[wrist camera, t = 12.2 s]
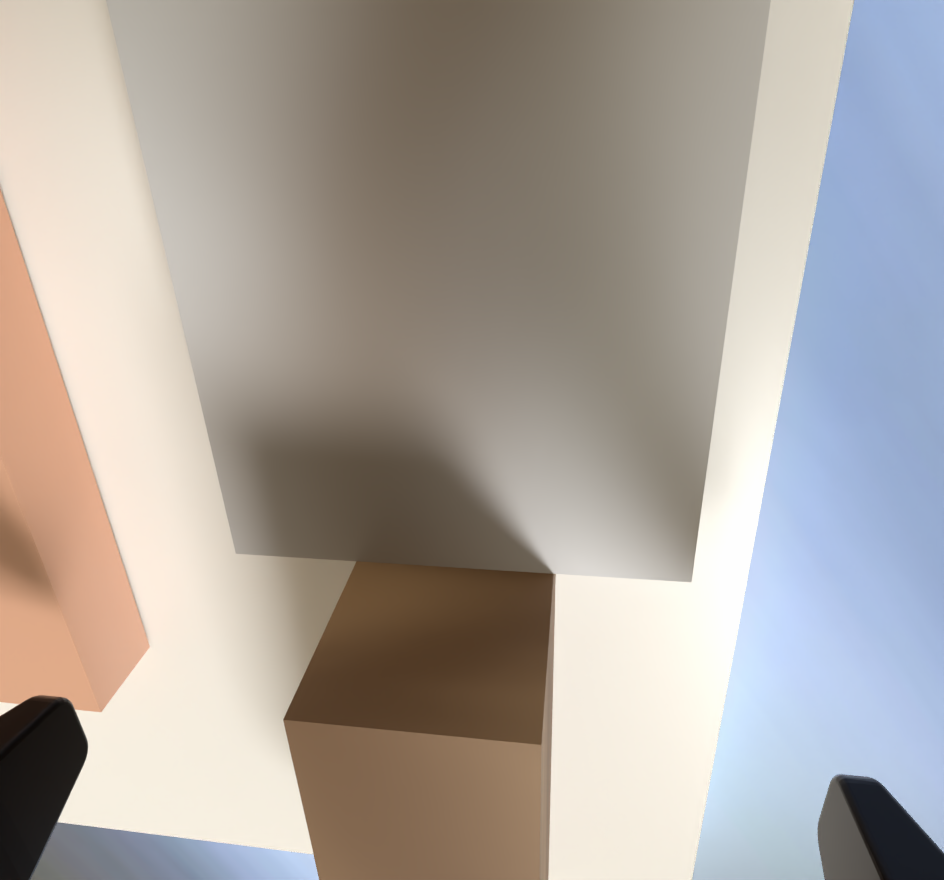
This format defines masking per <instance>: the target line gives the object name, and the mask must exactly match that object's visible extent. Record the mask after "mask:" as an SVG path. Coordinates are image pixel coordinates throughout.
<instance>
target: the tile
mask: <svg viewBox="0 0 944 880" xmlns="http://www.w3.org/2000/svg"><path fill="white" fill-rule="evenodd" d="M149 648H150V646H149V643H148V639H147V636H146V633H145V630H144V627H143V624H142V621H141V618H140V615H139V612H138V609H137V606H136V603H135V600H134V597H133V594H132V590H131V587H130V584H129V581H128V578H127V575H126V572H125V569H124V566H123V563H122V560H121V557H120V554H119V551H118V548H117V545H116V541H115V538H114V535H113V532H112V529H111V526H110V523H109V520H108V517H107V514H106V511H105V508H104V505H103V502H102V499H101V496H100V492H99V489H98V486H97V483H96V480H95V477H94V474H93V471H92V468H91V465H90V462H89V459H88V456H87V453H86V450H85V447H84V443H83V440H82V437H81V434H80V431H79V428H78V425H77V422H76V419H75V416H74V413H73V410H72V407H71V404H70V401H69V398H68V394H67V391H66V388H65V385H64V382H63V379H62V376H61V373H60V370H59V367H58V364H57V361H56V358H55V355H54V352H53V349H52V345H51V342H50V339H49V336H48V333H47V330H46V327H45V324H44V321H43V318H42V315H41V312H40V309H39V306H38V303H37V300H36V296H35V293H34V290H33V287H32V284H31V281H30V278H29V275H28V272H27V269H26V266H25V263H24V260H23V257H22V254H21V251H20V247H19V244H18V241H17V238H16V235H15V232H14V229H13V226H12V223H11V220H10V217H9V214H8V211H7V208H6V205H5V202H4V198H3V195H2V192H1V189H0V702H4V703H14V704H20V703H22V702H24V701H25V700H27V699H29V698H31V697H34V696H38V695H46V696H56V697H64V698H67V699H68V700H70V701H71V702H72V704H73V706H74V708H75V710H83V711H93V712H102V711H103V709H104V708H105V707H106V705H107V704H108V703H109V701H110V700H111V699H112V697H113V696H114V694H115V693H116V692H117V690H118V689H119V688H120V686H121V685H122V684H123V682H124V681H125V680H126V678H127V677H128V676H129V674H130V673H131V672H132V670H133V669H134V668H135V666H136V665H137V664H138V662H139V661H140V660H141V658H142V657H143V656H144V654H145V653H146V652H147V650H148V649H149Z"/></svg>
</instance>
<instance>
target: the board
mask: <svg viewBox="0 0 944 880" xmlns="http://www.w3.org/2000/svg"><path fill="white" fill-rule="evenodd" d="M853 4H854V0H771V3H770V10H769V17H768V25H767V32H766V39H765V47H764V54H763V61H762V69H761V76H760V83H759V91H758V98H757V105H756V113H755V120H754V127H753V135H752V142H751V149H750V157H749V164H748V171H747V179H746V186H745V193H744V201H743V208H742V215H741V223H740V230H739V238H738V245H737V252H736V260H735V267H734V274H733V282H732V289H731V296H730V304H729V311H728V318H727V326H726V333H725V340H724V348H723V355H722V362H721V370H720V377H719V384H718V392H717V399H716V406H715V414H714V421H713V428H712V436H711V443H710V450H709V458H708V465H707V472H706V480H705V487H704V494H703V502H702V509H701V516H700V524H699V531H698V538H697V546H696V553H695V560H694V568H693V575H692V582H677V581H661V580H645V579H629V578H614V577H598V576H582V575H566V574H556V584H555V626H554V668H553V710H552V752H551V793H550V835H549V875H548V880H692V876H693V871H694V865H695V860H696V854H697V849H698V844H699V838H700V833H701V827H702V822H703V816H704V811H705V806H706V800H707V795H708V789H709V784H710V778H711V773H712V768H713V762H714V757H715V751H716V746H717V741H718V735H719V730H720V724H721V719H722V713H723V708H724V703H725V697H726V692H727V686H728V681H729V676H730V670H731V665H732V659H733V654H734V648H735V643H736V638H737V632H738V627H739V621H740V616H741V610H742V605H743V600H744V594H745V589H746V583H747V578H748V573H749V567H750V562H751V556H752V551H753V545H754V540H755V535H756V529H757V524H758V518H759V513H760V508H761V502H762V497H763V491H764V486H765V480H766V475H767V470H768V464H769V459H770V453H771V448H772V443H773V437H774V432H775V426H776V421H777V415H778V410H779V405H780V399H781V394H782V388H783V383H784V377H785V372H786V367H787V361H788V356H789V350H790V345H791V340H792V334H793V329H794V323H795V318H796V312H797V307H798V302H799V296H800V291H801V285H802V280H803V275H804V269H805V264H806V258H807V253H808V247H809V242H810V237H811V231H812V226H813V220H814V215H815V209H816V204H817V199H818V193H819V188H820V182H821V177H822V172H823V166H824V161H825V155H826V150H827V144H828V139H829V134H830V128H831V123H832V117H833V112H834V107H835V101H836V96H837V90H838V85H839V79H840V74H841V69H842V63H843V58H844V52H845V47H846V41H847V36H848V31H849V25H850V20H851V14H852V9H853ZM0 189H1V192H2V195H3V198H4V202H5V205H6V208H7V211H8V214H9V217H10V220H11V223H12V226H13V229H14V232H15V235H16V238H17V241H18V244H19V247H20V251H21V254H22V257H23V260H24V263H25V266H26V269H27V272H28V275H29V278H30V281H31V284H32V287H33V290H34V293H35V296H36V300H37V303H38V306H39V309H40V312H41V315H42V318H43V321H44V324H45V327H46V330H47V333H48V336H49V339H50V342H51V345H52V349H53V352H54V355H55V358H56V361H57V364H58V367H59V370H60V373H61V376H62V379H63V382H64V385H65V388H66V391H67V394H68V398H69V401H70V404H71V407H72V410H73V413H74V416H75V419H76V422H77V425H78V428H79V431H80V434H81V437H82V440H83V443H84V447H85V450H86V453H87V456H88V459H89V462H90V465H91V468H92V471H93V474H94V477H95V480H96V483H97V486H98V489H99V492H100V496H101V499H102V502H103V505H104V508H105V511H106V514H107V517H108V520H109V523H110V526H111V529H112V532H113V535H114V538H115V541H116V545H117V548H118V551H119V554H120V557H121V560H122V563H123V566H124V569H125V572H126V575H127V578H128V581H129V584H130V587H131V590H132V594H133V597H134V600H135V603H136V606H137V609H138V612H139V615H140V618H141V621H142V624H143V627H144V630H145V633H146V636H147V639H148V643H149V646H150V648H149V649H148V650H147V652H146V653H145V654H144V656H143V657H142V658H141V660H140V661H139V662H138V664H137V665H136V666H135V668H134V669H133V670H132V672H131V673H130V674H129V676H128V677H127V678H126V680H125V681H124V682H123V684H122V685H121V686H120V688H119V689H118V690H117V692H116V693H115V694H114V696H113V697H112V699H111V700H110V701H109V703H108V704H107V705H106V707H105V708H104V709H103V711H102V712H93V711H83V710H75V711H76V713H77V716H78V718H79V720H80V723H81V725H82V728H83V730H84V733H85V735H86V737H87V740H88V754H87V757H86V761H85V763H84V766H83V768H82V770H81V772H80V774H79V776H78V779H77V781H76V783H75V785H74V787H73V789H72V791H71V794H70V796H69V798H68V800H67V802H66V804H65V807H64V809H63V811H62V813H61V815H60V817H59V819H58V822H62V823H70V824H78V825H85V826H93V827H101V828H109V829H117V830H125V831H133V832H141V833H149V834H157V835H165V836H172V837H180V838H188V839H196V840H204V841H212V842H220V843H228V844H236V845H244V846H252V847H259V848H267V849H275V850H283V851H291V852H299V853H307V854H313V849H312V845H311V841H310V836H309V832H308V827H307V823H306V819H305V814H304V810H303V805H302V801H301V797H300V792H299V788H298V783H297V779H296V775H295V770H294V766H293V761H292V757H291V753H290V748H289V744H288V739H287V735H286V731H285V726H284V722H283V719H284V717H285V715H286V712H287V710H288V708H289V706H290V704H291V702H292V699H293V697H294V695H295V693H296V691H297V689H298V687H299V684H300V682H301V680H302V678H303V676H304V674H305V671H306V669H307V667H308V665H309V663H310V661H311V658H312V656H313V654H314V652H315V650H316V648H317V646H318V643H319V641H320V639H321V637H322V635H323V633H324V630H325V628H326V626H327V624H328V622H329V620H330V617H331V615H332V613H333V611H334V609H335V607H336V604H337V602H338V600H339V598H340V596H341V594H342V592H343V589H344V587H345V585H346V583H347V581H348V579H349V576H350V574H351V572H352V570H353V568H354V566H355V563H356V561H344V560H328V559H312V558H296V557H280V556H264V555H248V554H236V552H235V548H234V544H233V539H232V535H231V531H230V527H229V522H228V518H227V514H226V510H225V505H224V501H223V497H222V493H221V488H220V484H219V480H218V476H217V471H216V467H215V463H214V459H213V454H212V450H211V446H210V442H209V437H208V433H207V429H206V424H205V420H204V416H203V412H202V407H201V403H200V399H199V395H198V390H197V386H196V382H195V378H194V373H193V369H192V365H191V361H190V356H189V352H188V348H187V344H186V339H185V335H184V331H183V327H182V322H181V318H180V314H179V310H178V305H177V301H176V297H175V292H174V288H173V284H172V280H171V275H170V271H169V267H168V263H167V258H166V254H165V250H164V246H163V241H162V237H161V233H160V229H159V224H158V220H157V216H156V212H155V207H154V203H153V199H152V195H151V190H150V186H149V182H148V177H147V173H146V169H145V165H144V160H143V156H142V152H141V148H140V143H139V139H138V135H137V131H136V126H135V122H134V118H133V114H132V109H131V105H130V101H129V97H128V92H127V88H126V84H125V80H124V75H123V71H122V67H121V62H120V58H119V54H118V50H117V45H116V41H115V37H114V33H113V28H112V24H111V20H110V16H109V11H108V7H107V3H106V0H0ZM17 705H19V704H14V703H4V702H0V716H1V715H2V714H4V713H6V712H7V711H9V710H11V709H12V708H14V707H15V706H17Z"/></svg>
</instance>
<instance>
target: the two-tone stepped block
mask: <svg viewBox="0 0 944 880" xmlns="http://www.w3.org/2000/svg"><path fill="white" fill-rule="evenodd" d="M106 3H107V7H108V11H109V16H110V20H111V24H112V28H113V33H114V37H115V41H116V45H117V50H118V54H119V58H120V62H121V67H122V71H123V75H124V80H125V84H126V88H127V92H128V97H129V101H130V105H131V109H132V114H133V118H134V122H135V126H136V131H137V135H138V139H139V143H140V148H141V152H142V156H143V160H144V165H145V169H146V173H147V177H148V182H149V186H150V190H151V195H152V199H153V203H154V207H155V212H156V216H157V220H158V224H159V229H160V233H161V237H162V241H163V246H164V250H165V254H166V258H167V263H168V267H169V271H170V275H171V280H172V284H173V288H174V292H175V297H176V301H177V305H178V310H179V314H180V318H181V322H182V327H183V331H184V335H185V339H186V344H187V348H188V352H189V356H190V361H191V365H192V369H193V373H194V378H195V382H196V386H197V390H198V395H199V399H200V403H201V407H202V412H203V416H204V420H205V424H206V429H207V433H208V437H209V442H210V446H211V450H212V454H213V459H214V463H215V467H216V471H217V476H218V480H219V484H220V488H221V493H222V497H223V501H224V505H225V510H226V514H227V518H228V522H229V527H230V531H231V535H232V539H233V544H234V548H235V552H236V554H248V555H264V556H280V557H296V558H312V559H328V560H344V561H356V563H355V566H354V568H353V570H352V572H351V574H350V576H349V579H348V581H347V583H346V585H345V587H344V589H343V592H342V594H341V596H340V598H339V600H338V602H337V604H336V607H335V609H334V611H333V613H332V615H331V617H330V620H329V622H328V624H327V626H326V628H325V630H324V633H323V635H322V637H321V639H320V641H319V643H318V646H317V648H316V650H315V652H314V654H313V656H312V658H311V661H310V663H309V665H308V667H307V669H306V671H305V674H304V676H303V678H302V680H301V682H300V684H299V687H298V689H297V691H296V693H295V695H294V697H293V699H292V702H291V704H290V706H289V708H288V710H287V712H286V715H285V717H284V719H283V722H284V726H285V731H286V735H287V739H288V744H289V748H290V753H291V757H292V761H293V766H294V770H295V775H296V779H297V783H298V788H299V792H300V797H301V801H302V805H303V810H304V814H305V819H306V823H307V827H308V832H309V836H310V841H311V845H312V849H313V854H314V858H315V863H316V867H317V871H318V876H319V880H548V875H549V835H550V793H551V752H552V710H553V668H554V626H555V584H556V574H566V575H582V576H598V577H614V578H629V579H645V580H661V581H677V582H692V575H693V568H694V560H695V553H696V546H697V538H698V531H699V524H700V516H701V509H702V502H703V494H704V487H705V480H706V472H707V465H708V458H709V450H710V443H711V436H712V428H713V421H714V414H715V406H716V399H717V392H718V384H719V377H720V370H721V362H722V355H723V348H724V340H725V333H726V326H727V318H728V311H729V304H730V296H731V289H732V282H733V274H734V267H735V260H736V252H737V245H738V238H739V230H740V223H741V215H742V208H743V201H744V193H745V186H746V179H747V171H748V164H749V157H750V149H751V142H752V135H753V127H754V120H755V113H756V105H757V98H758V91H759V83H760V76H761V69H762V61H763V54H764V47H765V39H766V32H767V25H768V17H769V10H770V3H771V0H106Z"/></svg>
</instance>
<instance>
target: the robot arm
mask: <svg viewBox="0 0 944 880" xmlns="http://www.w3.org/2000/svg"><path fill="white" fill-rule="evenodd" d="M87 754H88V740H87V737H86V735H85V733H84V730H83V728H82V725H81V723H80V720H79V718H78V716H77V713H76V711H75V708H74V706H73V704H72V702H71V701H70V700H68V699H67V698H64V697H56V696H46V695H38V696H34V697H31V698H29V699H27V700H25V701H24V702H22V703H20V704H19V705H17V706H15V707H14V708H12V709H11V710H9V711H7V712H6V713H4V714H2V715H1V716H0V880H30V879H31V877H32V875H33V873H34V871H35V869H36V867H37V865H38V863H39V860H40V858H41V856H42V854H43V852H44V850H45V848H46V845H47V843H48V841H49V839H50V837H51V835H52V832H53V830H54V828H55V826H56V824H57V822H58V819H59V817H60V815H61V813H62V811H63V809H64V807H65V804H66V802H67V800H68V798H69V796H70V794H71V791H72V789H73V787H74V785H75V783H76V781H77V779H78V776H79V774H80V772H81V770H82V768H83V766H84V763H85V761H86V757H87ZM818 843H819V850H820V855H821V861H822V866H823V872H824V878H825V880H944V853H943V852H942V850H941V849H940V848H939V847H938V846H937V845H936V844H935V843H934V842H933V840H932V839H931V838H930V837H929V836H928V835H927V834H926V833H925V832H924V830H923V829H922V828H921V827H920V826H919V825H918V824H917V823H916V822H915V820H914V819H913V818H912V817H911V816H910V815H909V814H908V813H907V812H906V810H905V809H904V808H903V807H902V806H901V805H900V804H899V803H898V801H897V800H896V799H895V798H894V797H893V796H892V795H891V794H890V793H889V791H888V790H887V789H886V788H885V787H884V786H883V785H882V784H881V783H880V782H878V781H877V780H875V779H873V778H870V777H863V776H852V775H842V774H840V775H836V776H834V777H833V778H832V780H831V782H830V785H829V788H828V792H827V795H826V798H825V801H824V805H823V808H822V811H821V815H820V818H819V822H818Z"/></svg>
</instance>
